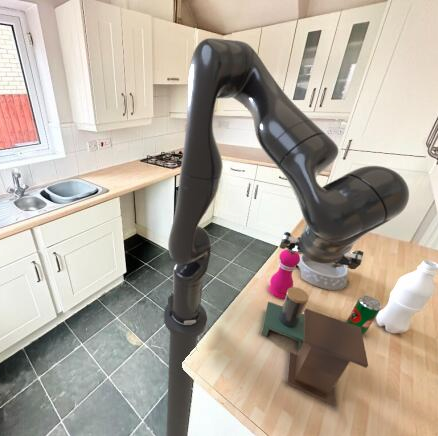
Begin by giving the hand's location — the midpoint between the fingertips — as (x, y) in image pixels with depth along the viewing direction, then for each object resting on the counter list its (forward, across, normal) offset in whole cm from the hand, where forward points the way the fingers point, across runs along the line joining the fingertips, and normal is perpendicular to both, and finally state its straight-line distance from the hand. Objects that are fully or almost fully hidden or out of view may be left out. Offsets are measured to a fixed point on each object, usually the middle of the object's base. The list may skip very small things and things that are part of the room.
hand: (312, 257), depth 58 cm
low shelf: (+24, 0, +20) cm, 31 cm away
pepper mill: (+36, +4, +8) cm, 37 cm away
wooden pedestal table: (+16, -8, +28) cm, 33 cm away
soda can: (+34, -18, +10) cm, 40 cm away
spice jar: (+20, 0, +16) cm, 26 cm away
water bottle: (+39, -26, +5) cm, 47 cm away
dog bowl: (+50, -7, -6) cm, 51 cm away
